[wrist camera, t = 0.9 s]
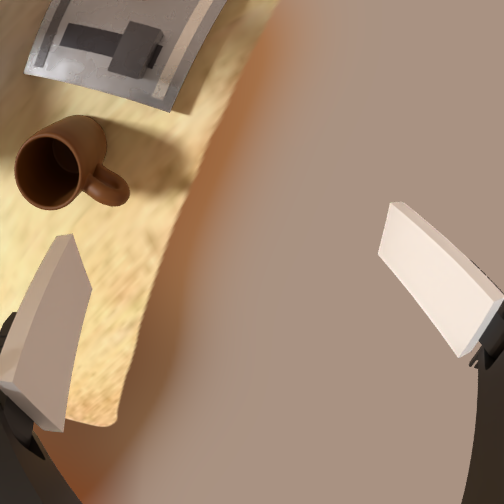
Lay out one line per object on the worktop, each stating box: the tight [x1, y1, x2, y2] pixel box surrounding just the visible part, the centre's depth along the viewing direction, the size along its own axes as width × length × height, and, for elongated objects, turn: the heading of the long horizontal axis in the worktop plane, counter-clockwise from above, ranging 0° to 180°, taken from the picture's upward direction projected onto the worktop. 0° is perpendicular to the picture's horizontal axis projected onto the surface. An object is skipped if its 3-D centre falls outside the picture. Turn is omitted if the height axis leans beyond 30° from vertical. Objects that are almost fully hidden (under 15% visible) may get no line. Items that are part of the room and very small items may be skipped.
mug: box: [14, 115, 130, 210], centre depth 26 cm, size 12×8×9 cm, turn 56°
